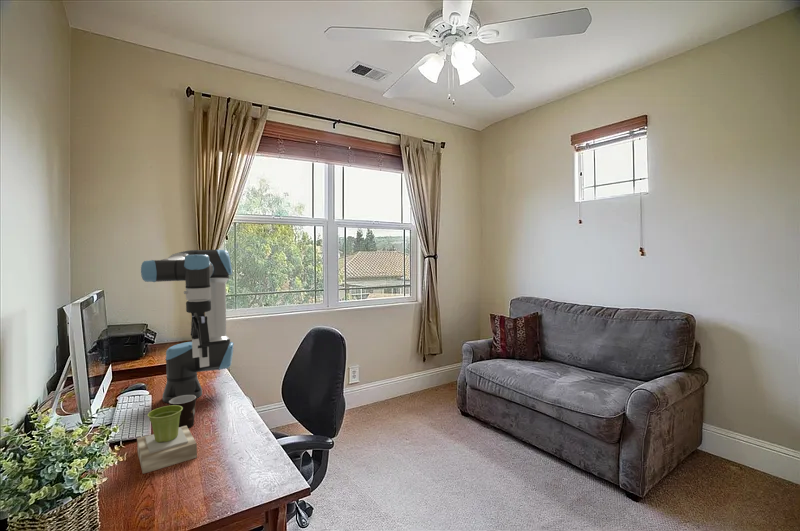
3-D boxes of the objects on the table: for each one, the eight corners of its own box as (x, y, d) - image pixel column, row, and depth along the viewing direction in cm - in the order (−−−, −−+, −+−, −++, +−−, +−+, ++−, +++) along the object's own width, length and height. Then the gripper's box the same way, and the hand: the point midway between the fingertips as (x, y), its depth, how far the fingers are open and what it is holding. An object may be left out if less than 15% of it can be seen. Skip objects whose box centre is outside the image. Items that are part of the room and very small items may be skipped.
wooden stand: (137, 451, 123) (136, 436, 123) (186, 438, 132) (186, 423, 132) (142, 473, 111) (142, 456, 111) (197, 457, 120) (196, 441, 120)
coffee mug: (185, 432, 136) (184, 404, 136) (164, 430, 138) (163, 403, 138) (207, 418, 148) (207, 392, 147) (188, 417, 149) (187, 391, 149)
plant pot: (158, 448, 115) (157, 419, 115) (142, 440, 120) (141, 413, 120) (189, 435, 123) (188, 408, 123) (173, 428, 128) (172, 403, 128)
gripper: (180, 297, 140) (182, 355, 141) (192, 305, 120) (194, 373, 121) (203, 295, 144) (205, 351, 145) (218, 303, 124) (220, 368, 125)
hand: (200, 361), depth 133 cm, fingers open, 13 cm apart
